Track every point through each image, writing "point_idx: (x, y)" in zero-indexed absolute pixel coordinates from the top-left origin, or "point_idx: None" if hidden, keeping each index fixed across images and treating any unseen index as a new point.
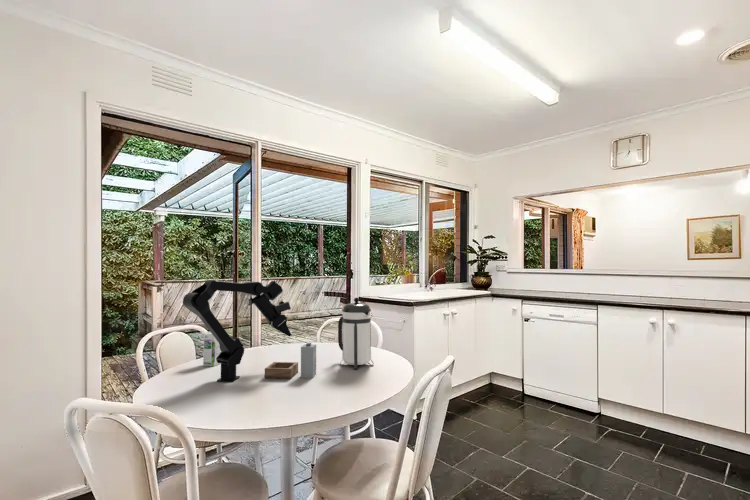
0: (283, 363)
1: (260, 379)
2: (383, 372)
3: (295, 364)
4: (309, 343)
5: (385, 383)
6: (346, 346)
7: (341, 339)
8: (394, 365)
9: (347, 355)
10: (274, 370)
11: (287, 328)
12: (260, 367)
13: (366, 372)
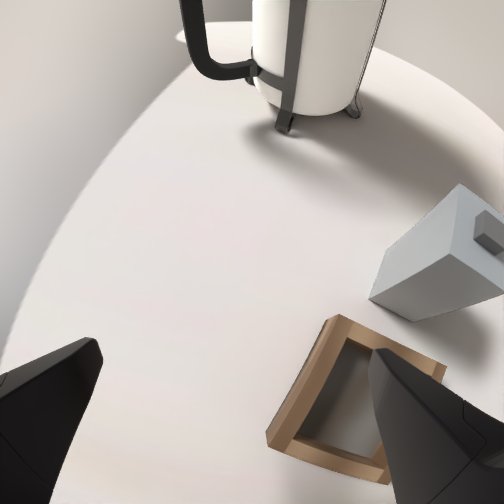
0: (316, 397)
1: (367, 482)
2: (396, 83)
3: (378, 335)
4: (500, 226)
5: (477, 127)
6: (345, 63)
7: (206, 42)
8: None
9: (341, 91)
10: None
11: (465, 411)
12: (151, 465)
13: (392, 108)
